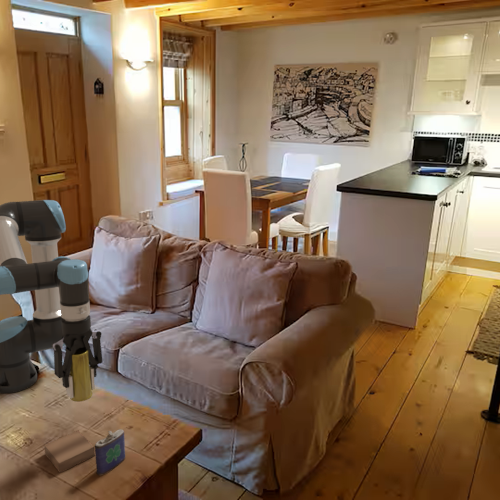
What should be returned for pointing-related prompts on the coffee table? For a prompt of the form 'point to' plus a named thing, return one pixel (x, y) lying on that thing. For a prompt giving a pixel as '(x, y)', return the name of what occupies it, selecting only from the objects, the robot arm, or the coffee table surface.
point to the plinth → (69, 451)
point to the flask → (110, 452)
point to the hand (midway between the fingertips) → (80, 391)
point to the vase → (81, 376)
